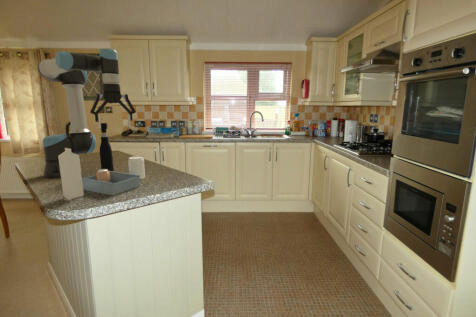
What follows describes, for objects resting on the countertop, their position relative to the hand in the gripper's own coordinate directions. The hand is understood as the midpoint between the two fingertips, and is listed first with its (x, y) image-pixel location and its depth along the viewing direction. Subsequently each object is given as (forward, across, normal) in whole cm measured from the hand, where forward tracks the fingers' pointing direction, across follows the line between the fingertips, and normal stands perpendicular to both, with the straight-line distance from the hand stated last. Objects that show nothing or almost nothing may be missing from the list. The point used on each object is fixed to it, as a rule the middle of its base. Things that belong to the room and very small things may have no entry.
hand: (115, 128), depth 134 cm
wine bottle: (+29, -2, +24) cm, 38 cm away
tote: (+29, -5, -6) cm, 30 cm away
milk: (+29, -21, -10) cm, 37 cm away
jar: (+28, -7, 0) cm, 29 cm away
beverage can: (+29, +10, +6) cm, 31 cm away
